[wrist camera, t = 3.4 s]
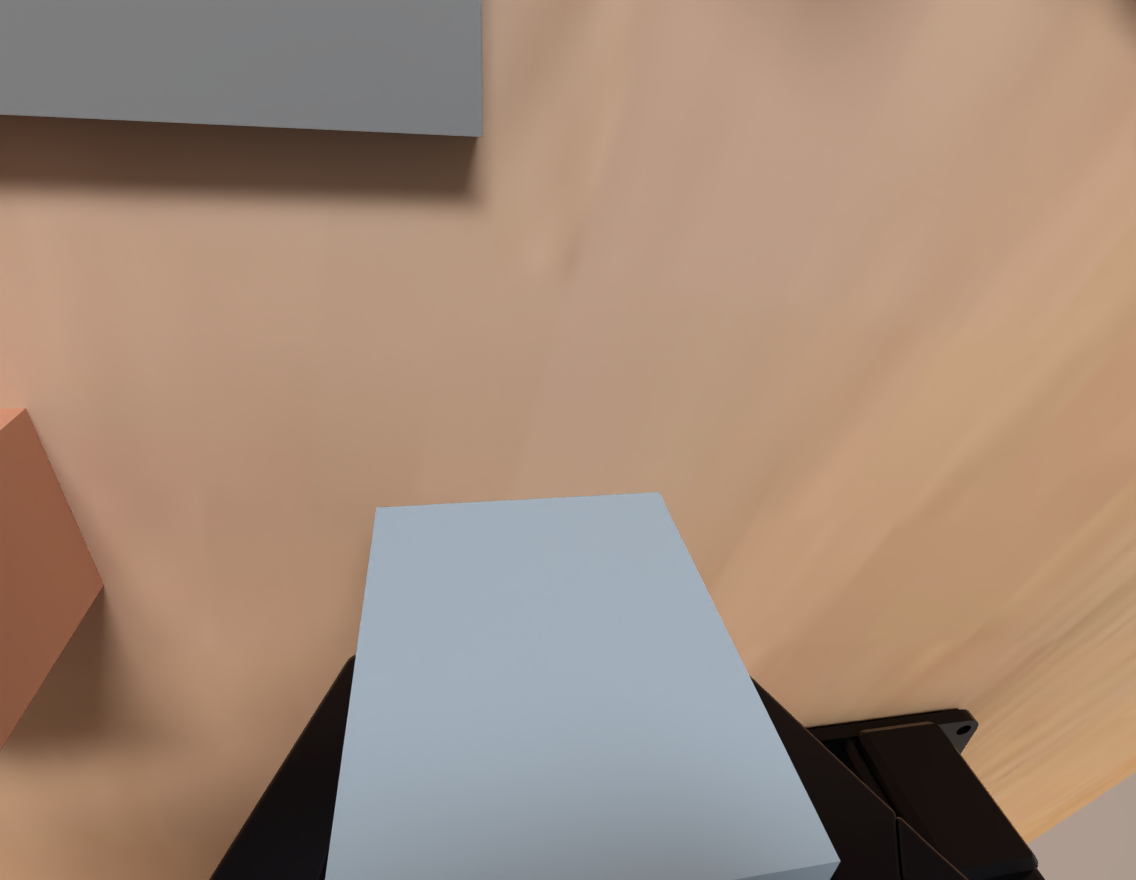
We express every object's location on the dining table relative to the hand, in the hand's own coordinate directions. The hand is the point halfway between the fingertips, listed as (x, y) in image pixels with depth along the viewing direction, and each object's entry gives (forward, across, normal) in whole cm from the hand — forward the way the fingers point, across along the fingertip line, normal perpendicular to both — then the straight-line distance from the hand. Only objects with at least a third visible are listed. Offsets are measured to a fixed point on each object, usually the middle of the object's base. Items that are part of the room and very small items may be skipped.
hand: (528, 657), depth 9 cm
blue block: (+1, 0, 0) cm, 1 cm away
